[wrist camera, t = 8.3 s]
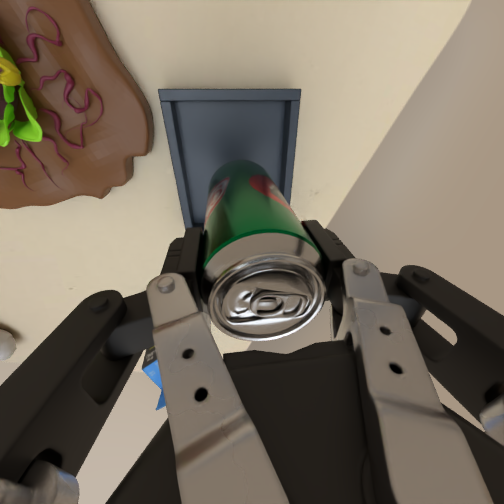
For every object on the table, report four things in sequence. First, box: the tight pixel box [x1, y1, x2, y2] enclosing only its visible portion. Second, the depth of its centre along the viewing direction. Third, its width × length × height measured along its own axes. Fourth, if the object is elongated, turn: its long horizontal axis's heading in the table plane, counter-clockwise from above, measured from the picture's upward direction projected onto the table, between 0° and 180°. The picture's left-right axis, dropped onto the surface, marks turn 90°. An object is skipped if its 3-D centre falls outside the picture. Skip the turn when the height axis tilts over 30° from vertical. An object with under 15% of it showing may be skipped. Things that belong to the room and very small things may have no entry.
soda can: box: [198, 160, 326, 341], centre depth 13 cm, size 5×5×12 cm
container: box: [158, 89, 301, 234], centre depth 23 cm, size 14×12×3 cm
